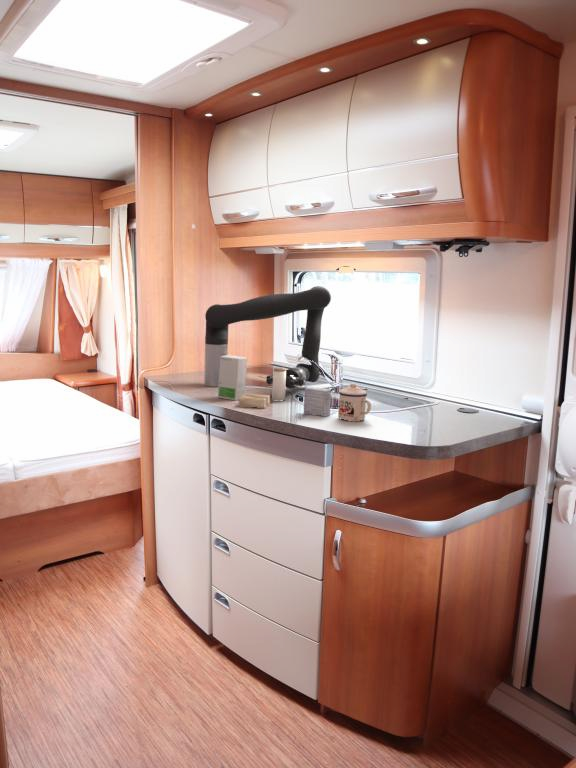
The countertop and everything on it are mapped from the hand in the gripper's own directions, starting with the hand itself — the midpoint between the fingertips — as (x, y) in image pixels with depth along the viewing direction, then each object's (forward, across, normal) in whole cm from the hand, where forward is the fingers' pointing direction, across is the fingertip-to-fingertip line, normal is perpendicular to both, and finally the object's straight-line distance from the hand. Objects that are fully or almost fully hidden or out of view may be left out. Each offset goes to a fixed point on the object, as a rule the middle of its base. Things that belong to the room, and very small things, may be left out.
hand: (279, 382), depth 226 cm
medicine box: (+17, +20, +7) cm, 27 cm away
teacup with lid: (+19, +34, +7) cm, 39 cm away
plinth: (+14, -4, +6) cm, 16 cm away
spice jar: (0, 0, +6) cm, 7 cm away
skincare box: (+6, -16, +7) cm, 19 cm away
